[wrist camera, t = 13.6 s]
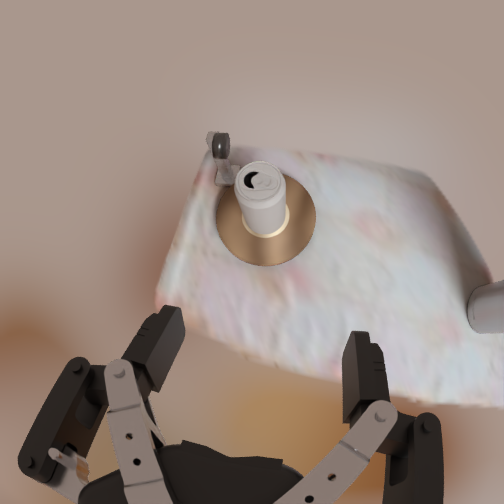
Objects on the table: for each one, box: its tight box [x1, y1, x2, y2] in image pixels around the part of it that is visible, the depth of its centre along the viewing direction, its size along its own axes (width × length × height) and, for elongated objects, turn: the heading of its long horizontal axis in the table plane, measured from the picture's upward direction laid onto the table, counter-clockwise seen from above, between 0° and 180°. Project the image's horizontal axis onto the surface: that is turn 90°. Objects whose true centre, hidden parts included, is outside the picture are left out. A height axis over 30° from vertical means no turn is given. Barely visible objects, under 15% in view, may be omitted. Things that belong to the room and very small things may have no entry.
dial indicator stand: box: [206, 132, 241, 187], centre depth 43 cm, size 4×5×13 cm
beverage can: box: [234, 161, 286, 234], centre depth 38 cm, size 6×6×12 cm
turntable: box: [216, 174, 316, 266], centre depth 44 cm, size 16×16×1 cm
